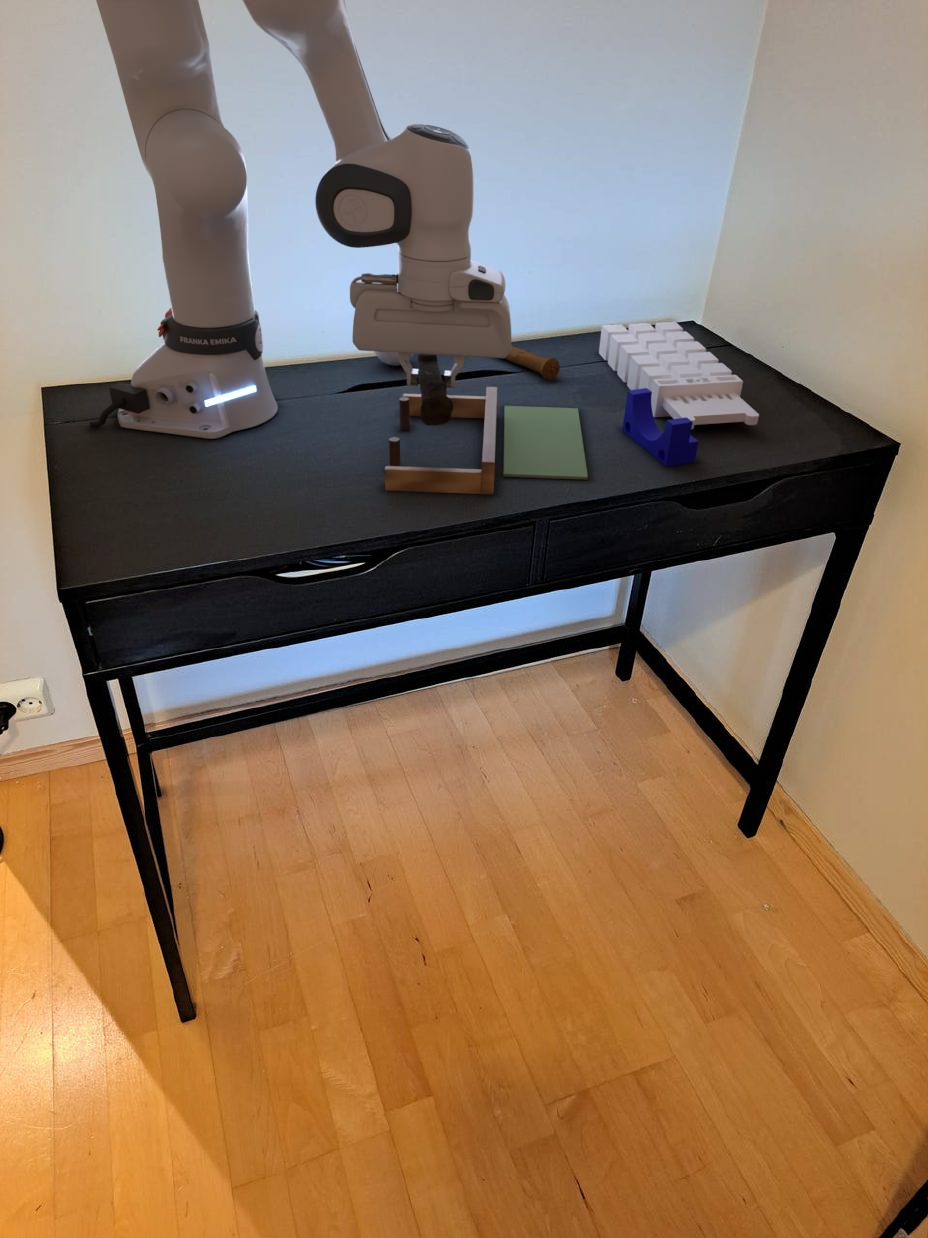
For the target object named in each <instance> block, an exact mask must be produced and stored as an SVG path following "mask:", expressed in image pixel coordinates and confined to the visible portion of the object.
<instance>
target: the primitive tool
mask: <svg viewBox="0 0 928 1238" xmlns="http://www.w3.org/2000/svg"><path fill="white" fill-rule="evenodd" d="M503 359H505V360H507V361H508V362H511V363H513V364H516V365H518V366H521V367H524V368H527V369H529V370H531V371H534V372H535V373H538V374H540V375H541V376H542V378H543V379H544V380H547V381H552V380H555V379H556V378H557V376H558V374H559V372H560V369H561V366H560V362H559V360H558V359H557V358H556V357H550V358H547V357H544V356H540V355H537V354H534V353H532V352H529V351H528V350H524V349H522V348H519V347H516V346H514V345H512V344H511V352H510V353H509V354H508V355H507V356H506V357H505V358H503Z"/></svg>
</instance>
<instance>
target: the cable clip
mask: <svg viewBox="0 0 928 1238" xmlns="http://www.w3.org/2000/svg"><path fill="white" fill-rule="evenodd" d="M651 395H652V392H651V391H650V390H649V389H647V388H643V389H635V390H630V389H629V390H627V394H626V400H625V408H624V417H623V423H622V432H624V433H625V434H626V435H627V436H628V437H630V438H631V439H632V440H634V441H635V442H636V443H637V444H638V445H639V446H641V447H642V448H643V449H644V450H646V452H648V453H649V454H650V455H651V456H652V457H654V458H655V459H656V460H657V461H658V462H660V463H661V464H662V465H663V466H665V467H671V466H672V467H673V466H677V465H684V464H689V463H695V462H696V456H697V452H698V446H699V440H698V439H696V438H695V437H694V436H692V434H691V433H692V429H691V428H692V423H693V422H692V421H691V420H690V419H688V418H687V417H685V418H679V419H673V418H672V419H666V422H665V427H664V429H663V431H661V430H660V428H659V427H658V425H657V423H656V420H655V417H654V416H653V413H652V406H651Z"/></svg>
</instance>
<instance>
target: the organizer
mask: <svg viewBox="0 0 928 1238" xmlns="http://www.w3.org/2000/svg"><path fill="white" fill-rule="evenodd" d="M600 329H601V331H600V339H599V348H598V354H599V355H600V357H601V358H602V359H603V360H604V361H605V362H606V361H607V364H608V366H609V367H610V368H611V369H612V370H613V371H614V372H616V374H617V376H618V377H619V379H620V380H621V381H622V382H623V383H626V386H627V387H628V389H629V390H635V389H643V388H647V389H649V390H650V391H651V392H652V395H651V406H652V413H653V417H654V418H664V417H671V418H672V419H679V418H685V417H687V418H688V419H690V420H691V421H692V422H693V423H692V428H691V430H693V429H694V428H695V426H696V425H697V426H698V425H699V426H700V425H711V424H712V425H713V424H728V423H742V422H743V423H744V424H745V425H746V426H756V425H758V423H759V417H760V413H758V412H757V411H756V410H755V409H754V408H752V406H750V405H749V404H748V402H746V401H745V400H744V399H743V398H742V397H741V394H742V390H743V384H744V380H742V379H741V378H740V377H739V375H737V374H732V372H733V371H732V370H731V369H730V368H729V367H727V365H725V364H724V363H723V362H719V358H717V357H716V356H715V355H714V354H713V353H712V352H711V351H707V348H706V347H705V346H703V344H701V343H700V342H699V341H697V340H695V338H694V336H692V335H691V334H690V333H689V332H688V331H685V330H684V327H682V326H681V325H680V324H679V323H677V321H666V322H665V321H664V322H655V326H654V327H653V326H652V324H650V323H649V322H644V323H642V322H641V323H628V328H626V327H625V326H624V325H623V324H621V323H619V324H602V325H601V328H600Z"/></svg>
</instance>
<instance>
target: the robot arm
mask: <svg viewBox="0 0 928 1238" xmlns="http://www.w3.org/2000/svg"><path fill="white" fill-rule="evenodd" d="M95 2H96V4H97V8H98V11H99V15H100V19H101V21H102V24H103V28H104V31H105V34H106V37H107V41H108V44H109V47H110V51H111V54H112V57H113V61H114V65H115V67H116V71H117V75H118V79H119V83H120V87H121V90H122V94H123V99H124V102H125V106H126V108H127V114H128V116H129V120H130V123H131V126H132V130H133V135H134V137H135V141H136V144H137V147H138V151H139V155H140V158H141V161H142V164H143V166H144V169H145V170H146V172H147V174H148V175H149V177H150V178H151V182H152V184H153V187H154V192H155V199H156V207H157V215H158V223H159V230H160V239H161V240H160V242H161V252H162V263H163V267H164V274H165V280H166V285H167V291H168V296H169V302H170V308H169V309H168V310H167V311H166V312H165V314H164V318H163V319H162V320H161V321H160V325H159V326H158V327H157V329H156V330H157V332H158V335H157V336H158V337H159V338H161V337H162V340H163V341H164V342H163V343H162V344H161V345H159V346H158V347H157V348H156V349H155V350H153V352H151V353H150V354H149V355H148V356H147V357H146V358H145V359H144V360H143V361H142V362H141V363H140V364H138V366H137V367H136V368H135V370H134V371H133V374H132V376H131V381H130V384H129V383H124V382H121V381H120V382H117V383H114V384H113V385H111V386H110V385H109V386H108V391H109V394H110V399H111V404H110V405H109V406H107V407H106V408H105V409H104V410H103V411H102V412H101V413H100V417H99V419H98V420H96V421H89V425H90V428H91V429H97V428H100V427H102V426H103V425H105V424H106V422H107V419H108V417H109V415H111V414H112V413H113V412H114V411H116V410H117V409H118V411H117V421H118V424H119V426H120V427H121V428H124V429H131V430H138V431H147V432H154V433H163V434H171V435H179V436H186V437H193V438H201V439H207V440H209V439H210V440H214V439H220V438H222V437H225V436H227V435H229V434H231V433H234V432H237V431H242V430H246V429H249V428H250V429H251V428H253V427H257V426H259V425H262V424H263V423H266V422H268V421H269V420H271V419H272V418H273V417H274V416H275V415H276V414H277V412H278V410H279V406H278V403H277V401H276V399H275V397H274V394H273V391H272V388H271V385H270V382H269V378H268V376H267V372H266V367H265V363H264V359H263V351H264V340H263V332H262V325H261V322H260V316H259V312H258V311H257V309H256V308H255V300H254V291H253V290H254V289H253V283H252V274H251V273H252V272H251V266H250V265H251V264H250V255H249V254H250V253H249V197H248V170H247V169H248V168H247V163H246V159H245V154H244V153H243V152H244V151H243V150H242V148H241V146H240V144H239V142H238V141H237V139H236V138H235V136H234V135H233V133H231V132H230V131H229V130H228V129H227V128H225V126H224V124H223V121H222V117H221V112H220V108H219V102H218V97H217V91H216V87H215V80H214V74H213V69H212V68H213V66H212V61H211V60H212V59H211V51H210V42H209V38H208V34H207V30H206V26H205V22H204V17H203V14H202V10H201V6H200V2H199V0H95ZM242 2H243V4H244V6H245V8H246V10H247V12H248V13H249V15H250V17H251V19H252V20H253V22H254V23H255V25H256V26H258V27H259V28H260V30H262V31H263V32H264V33H266V34H267V35H268V36H270V37H271V38H272V39H274V40H275V41H277V42H278V43H279V44H280V45H282V46H283V47H284V48H285V49H287V50H288V52H289V53H291V55H292V56H293V57H294V58H295V59H296V60H297V62H298V63H299V64H300V66H301V67H302V69H303V70H304V72H305V74H306V75H307V77H308V79H309V81H310V84H311V87H312V89H313V91H314V95H315V97H316V100H317V102H318V105H319V108H320V110H321V113H322V116H323V118H324V121H325V123H326V126H327V129H328V131H329V134H330V137H331V140H332V143H333V146H334V152H335V163H334V164H333V165H331V166H330V168H329V169H328V170H326V172H325V173H324V175H323V176H322V177H321V178H320V180H319V183H318V185H317V187H316V192H315V199H314V201H315V210H316V213H317V214H316V215H317V218H318V220H319V223H320V225H321V226H322V229H324V231H325V232H326V233H327V235H328V236H329V237H331V239H333V240H334V241H335V242H337V243H338V244H341V245H342V246H345V247H348V248H354V249H362V248H373V247H382V246H388V245H392V244H396V246H397V274H393V273H392V274H389V273H383V274H382V273H381V274H377V273H376V274H375V273H372V272H371V273H370V272H364V273H361V275H360V276H357V277H355V278H354V279H353V280H352V281H351V282H350V284H349V301H350V302H349V303H350V304H351V306H352V307H353V308H354V314H353V322H352V336H351V337H352V338H351V339H352V344H353V345H354V346H355V347H356V349H357V350H358V351H361V352H363V351H364V352H374V351H378V352H397V353H398V361H399V362H400V364H401V365H400V366H401V367H402V369H403V371H404V372H405V374H406V386H407V387H408V386H410V387H411V386H412V387H413V386H414V387H419V385H420V384H419V377H418V376H419V369H418V368H413V366H412V364H411V362H410V360H409V358H410V353H414V355H418V354H434V355H437V356H453V364H454V365H453V366H452V368H451V369H450V370H444V372H443V382H445V383H446V385H447V389H449V388H450V389H455V388H456V377H457V376H458V374H459V372H460V371H461V369H462V368H463V366H464V365H465V358H466V357H471V358H472V357H473V358H492V359H504V358H505V357H506V356H507V355H508V354H509V353H510V352H511V345H512V318H511V310H510V305H509V301H508V298H507V296H506V295H505V291H506V279H505V276H504V273H503V272H502V271H500V270H499V269H497V268H494V267H491V266H488V265H486V264H484V263H482V262H481V263H480V262H478V261H476V260H473V259H472V247H471V243H470V235H469V234H470V233H469V231H470V226H471V223H472V219H473V215H474V165H473V158H472V153H471V149H470V146H469V145H468V143H467V142H466V141H465V140H464V138H462V137H461V136H460V135H459V134H457V133H455V132H453V131H452V130H449V129H447V128H443V127H441V126H436V125H431V124H423V123H413V124H409V125H407V126H405V128H404V129H402V130H401V131H400V132H399V133H398V134H396V135H395V136H393V137H390V135H389V134H388V132H387V131H386V129H385V126H384V125H383V123H382V120H381V117H380V115H379V112H378V109H377V106H376V103H375V100H374V97H373V93H372V92H371V89H370V86H369V82H368V80H367V77H366V74H365V71H364V68H363V65H362V62H361V60H360V56H359V53H358V51H357V50H358V49H357V47H356V44H355V41H354V38H353V32H352V28H351V24H350V19H349V14H348V10H347V6H346V1H345V0H242Z"/></svg>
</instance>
